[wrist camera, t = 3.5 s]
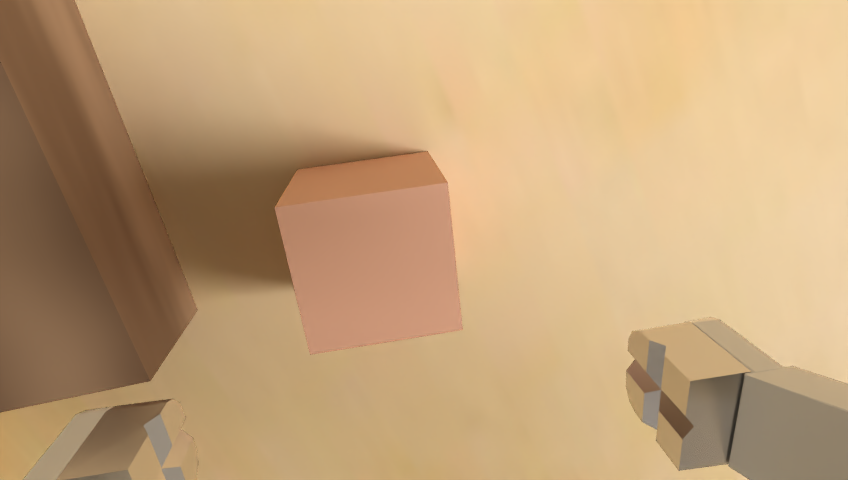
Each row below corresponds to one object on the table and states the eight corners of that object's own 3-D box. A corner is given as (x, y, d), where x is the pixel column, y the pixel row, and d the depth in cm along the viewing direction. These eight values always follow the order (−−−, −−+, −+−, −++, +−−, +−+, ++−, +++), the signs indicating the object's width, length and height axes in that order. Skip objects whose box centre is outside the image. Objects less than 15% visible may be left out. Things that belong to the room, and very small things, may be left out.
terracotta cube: (427, 150, 19) (447, 182, 14) (440, 267, 21) (462, 329, 16) (297, 168, 18) (274, 207, 14) (323, 285, 20) (310, 354, 16)
